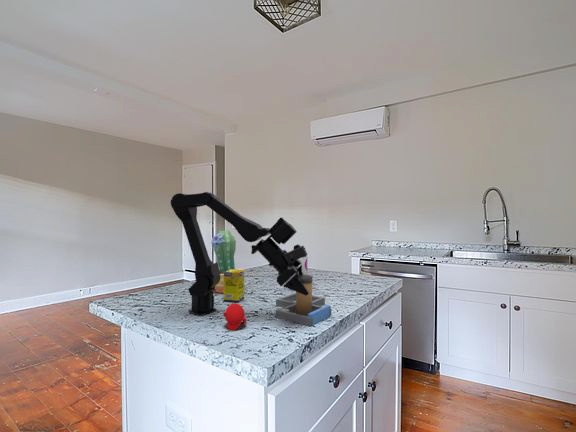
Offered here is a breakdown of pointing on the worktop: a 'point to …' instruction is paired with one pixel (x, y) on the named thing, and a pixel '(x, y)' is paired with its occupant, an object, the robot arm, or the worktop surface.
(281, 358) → the worktop surface
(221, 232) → the potted cactus
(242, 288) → the supplement box
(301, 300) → the vitamin jar
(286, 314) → the divided tray
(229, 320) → the red lumpy figurine
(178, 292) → the worktop surface
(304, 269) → the supplement can
